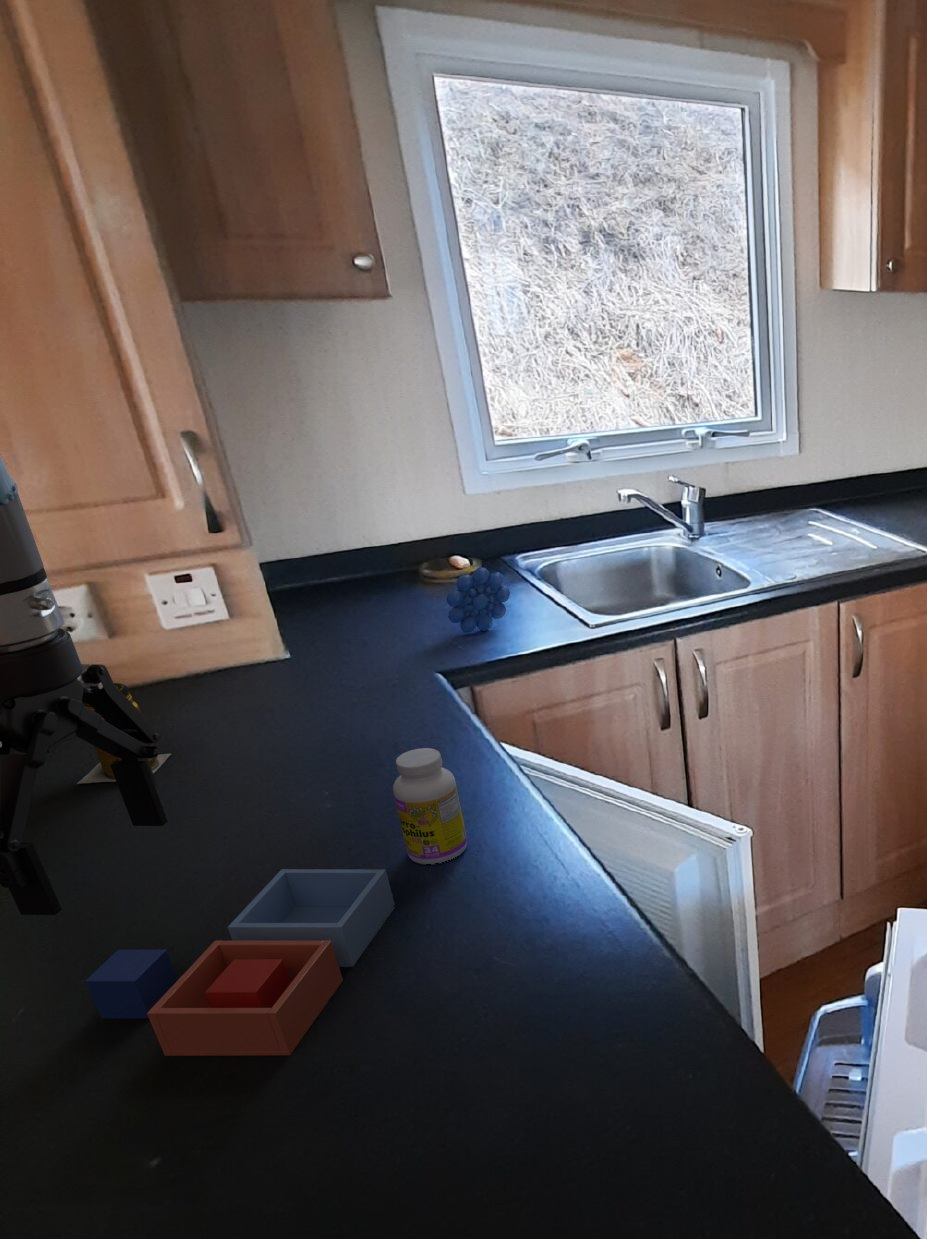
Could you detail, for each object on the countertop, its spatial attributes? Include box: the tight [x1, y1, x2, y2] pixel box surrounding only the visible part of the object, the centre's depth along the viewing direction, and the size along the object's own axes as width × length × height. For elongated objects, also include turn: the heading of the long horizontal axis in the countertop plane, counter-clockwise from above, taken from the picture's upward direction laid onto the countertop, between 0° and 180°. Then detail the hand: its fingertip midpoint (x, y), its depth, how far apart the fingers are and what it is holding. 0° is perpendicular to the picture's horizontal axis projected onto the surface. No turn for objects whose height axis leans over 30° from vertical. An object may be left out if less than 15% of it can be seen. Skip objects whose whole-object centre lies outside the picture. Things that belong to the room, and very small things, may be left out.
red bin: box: [147, 939, 344, 1057], centre depth 90 cm, size 11×10×5 cm
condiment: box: [76, 682, 172, 785], centre depth 130 cm, size 7×8×12 cm
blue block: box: [84, 949, 179, 1019], centre depth 91 cm, size 4×4×4 cm
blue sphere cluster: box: [446, 567, 511, 633], centre depth 180 cm, size 12×7×12 cm, turn 128°
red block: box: [205, 959, 290, 1008], centre depth 90 cm, size 4×4×4 cm
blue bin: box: [227, 868, 396, 968], centre depth 100 cm, size 11×10×5 cm
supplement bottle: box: [392, 747, 468, 866], centre depth 113 cm, size 7×7×13 cm
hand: (100, 865), depth 85 cm, fingers open, 13 cm apart
